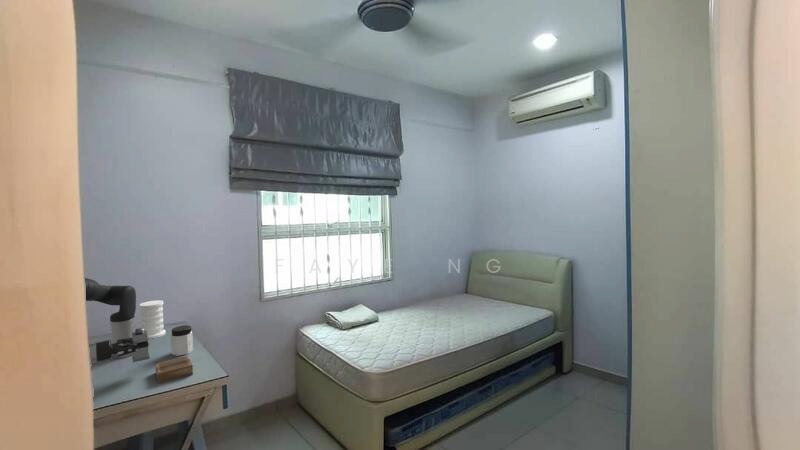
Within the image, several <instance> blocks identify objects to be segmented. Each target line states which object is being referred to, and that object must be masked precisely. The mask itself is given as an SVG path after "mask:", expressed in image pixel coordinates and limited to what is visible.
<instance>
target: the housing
mask: <svg viewBox="0 0 800 450" xmlns="http://www.w3.org/2000/svg"><path fill="white" fill-rule="evenodd" d="M146 341H148V342H149V339H148V337H147V330H144V328H142V327H139V328H135V332H133V333H132V342H133V344H135V343H141V342H146ZM131 356H132V363H137V362H141V361H146V360H150V358H151V357H150V353H149V346H148V347H144V348H140V349H137V350H136V351H135V352H133V355H131Z"/></svg>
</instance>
